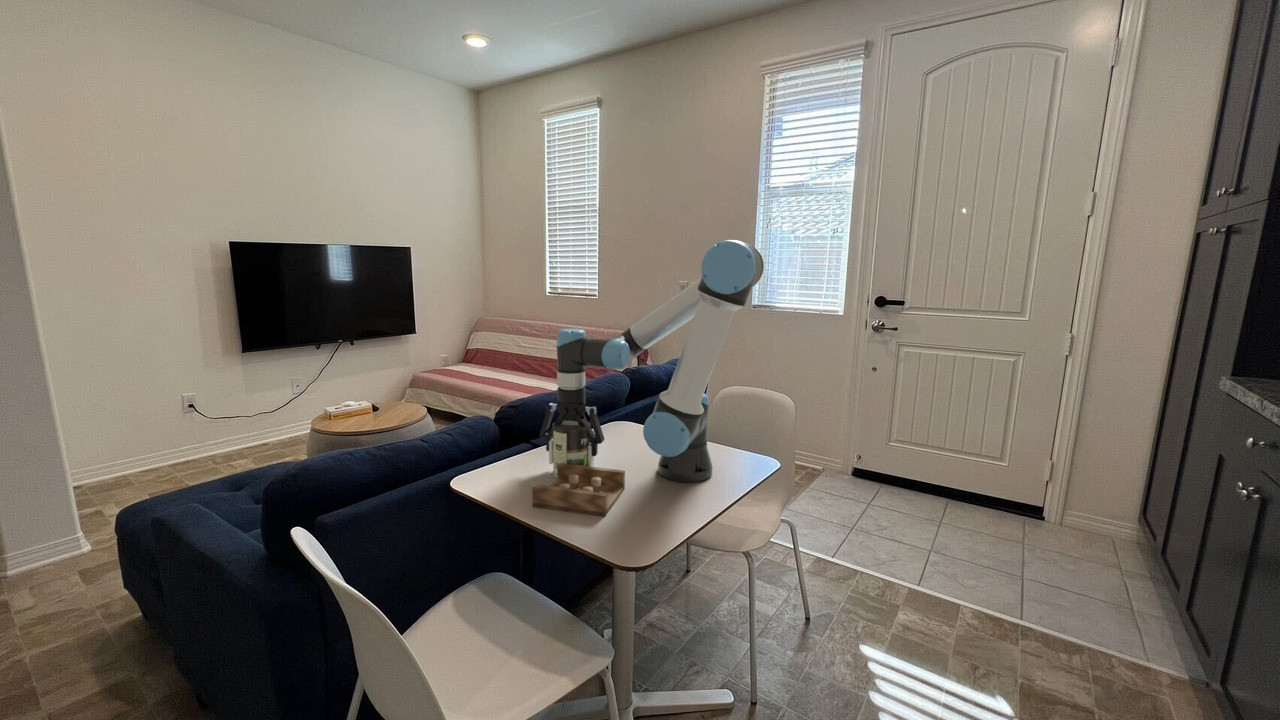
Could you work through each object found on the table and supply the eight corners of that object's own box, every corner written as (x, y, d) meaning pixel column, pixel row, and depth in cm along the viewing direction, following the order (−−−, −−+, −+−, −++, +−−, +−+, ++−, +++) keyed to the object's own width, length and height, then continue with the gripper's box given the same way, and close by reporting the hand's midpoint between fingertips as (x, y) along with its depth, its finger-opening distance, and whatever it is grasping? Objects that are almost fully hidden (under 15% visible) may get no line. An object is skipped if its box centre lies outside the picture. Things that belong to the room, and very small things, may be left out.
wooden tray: (624, 489, 133) (624, 470, 133) (604, 516, 118) (605, 496, 117) (559, 480, 138) (559, 462, 137) (532, 506, 123) (532, 486, 122)
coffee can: (594, 468, 147) (595, 420, 145) (583, 482, 137) (583, 431, 135) (560, 464, 149) (560, 417, 147) (547, 478, 139) (546, 428, 137)
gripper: (616, 386, 140) (615, 464, 144) (537, 380, 146) (539, 455, 149) (608, 392, 133) (607, 474, 136) (525, 386, 138) (527, 464, 142)
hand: (571, 464), depth 143 cm, fingers open, 11 cm apart
